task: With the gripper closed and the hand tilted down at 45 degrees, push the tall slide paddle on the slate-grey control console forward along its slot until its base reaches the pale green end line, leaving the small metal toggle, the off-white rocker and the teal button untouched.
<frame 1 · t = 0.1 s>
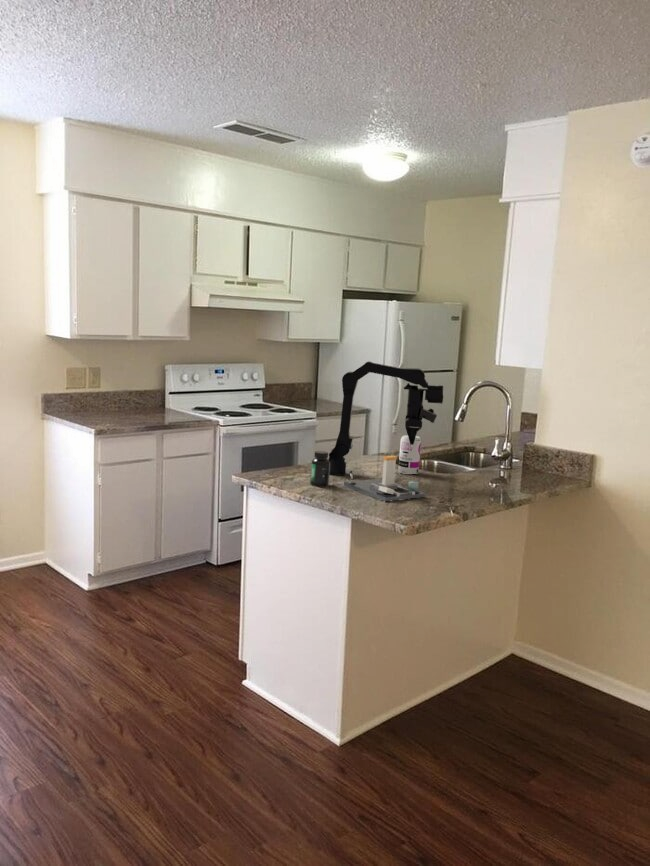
hand: (411, 442, 276), 15 cm above the counter, tool pointing down, fingers open, 9 cm apart
toggle lever: (351, 474, 261), point 5 cm above the counter, hinge at -25.0°
supplement bottle: (319, 485, 262), on the counter
rocker switch: (386, 490, 247), point 3 cm above the counter, hinge at -14.0°
console: (383, 491, 257), on the counter
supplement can: (408, 473, 291), on the counter
push button: (413, 485, 253), point 4 cm above the counter, slide at 0.0 cm
slide paddle: (388, 472, 254), point 7 cm above the counter, slide at 0.0 cm
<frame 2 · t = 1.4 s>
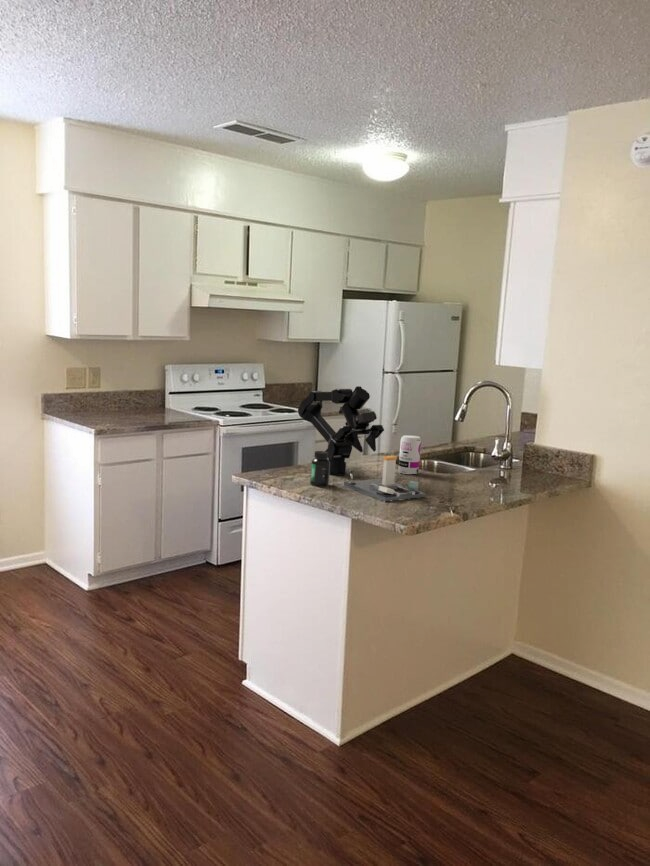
hand: (368, 451, 264), 13 cm above the counter, tool tilted 45°, fingers open, 6 cm apart
nothing on the counter moved.
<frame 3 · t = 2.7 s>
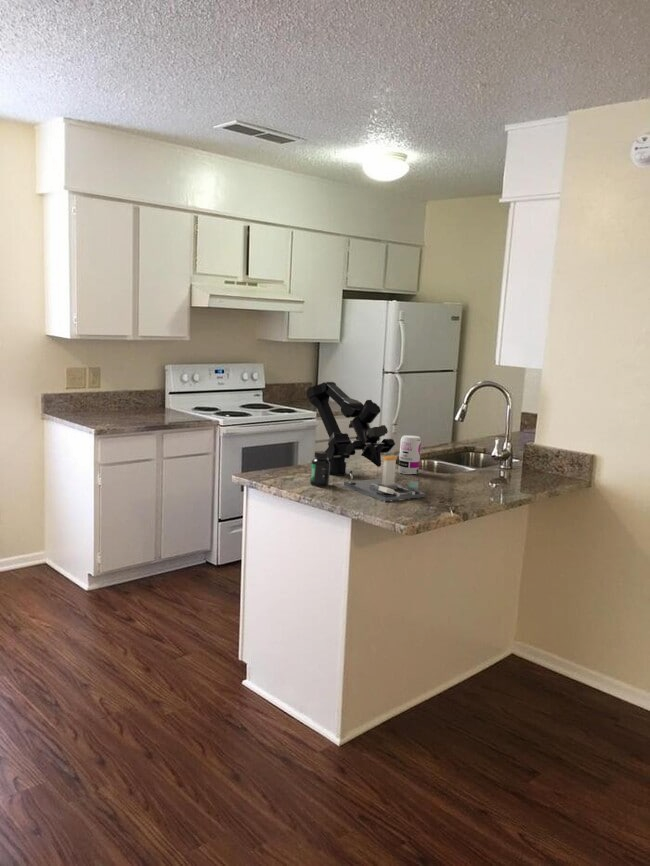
hand: (379, 466, 259), 9 cm above the counter, tool tilted 45°, fingers closed
nothing on the counter moved.
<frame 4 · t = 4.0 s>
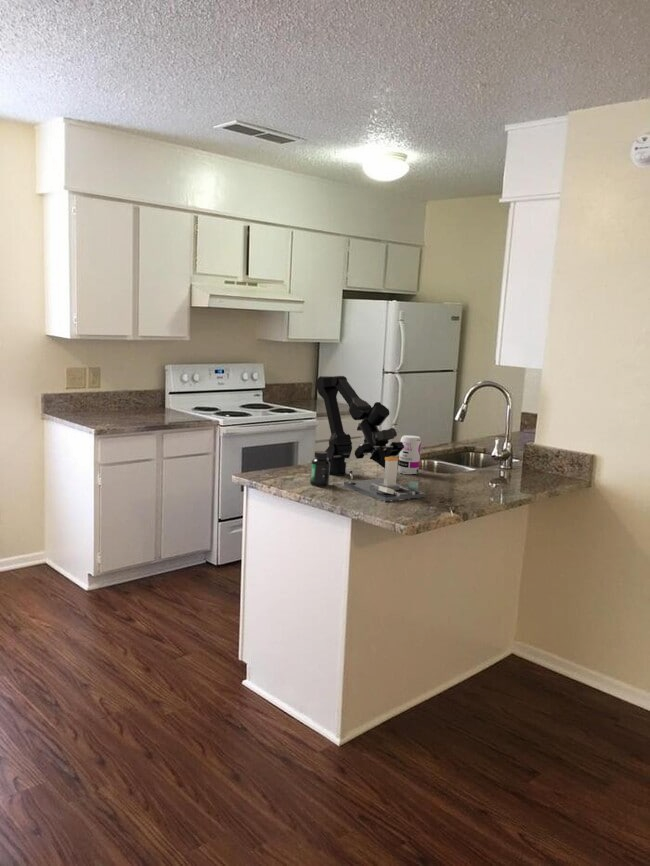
hand: (388, 469, 254), 8 cm above the counter, tool tilted 45°, fingers closed, pressing on slide paddle
slide paddle: (390, 473, 254), point 7 cm above the counter, slide at 1.0 cm, touching gripper
everything else where it was.
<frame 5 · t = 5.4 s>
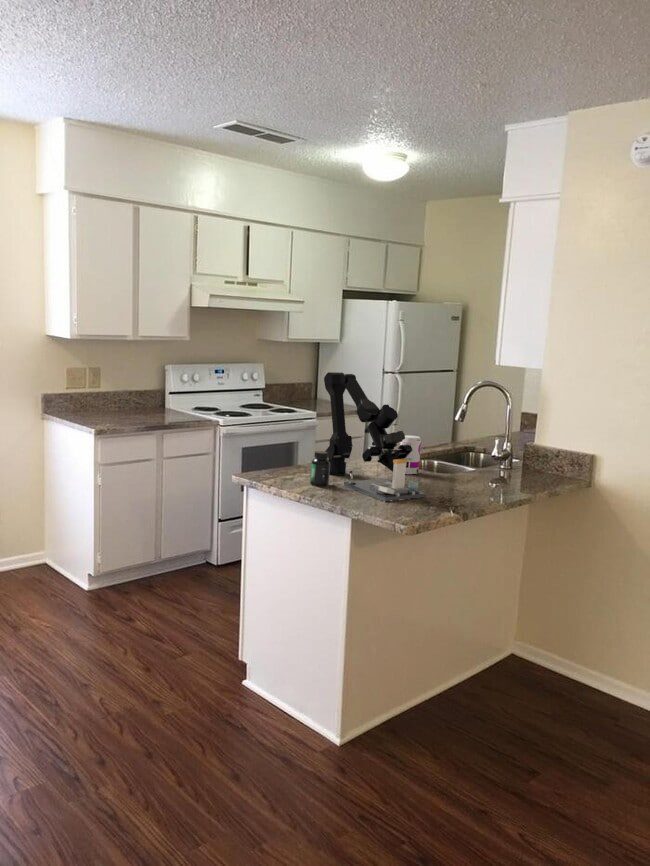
hand: (396, 473, 251), 8 cm above the counter, tool tilted 45°, fingers closed, pressing on slide paddle
slide paddle: (398, 475, 250), point 7 cm above the counter, slide at 5.5 cm, touching gripper
everything else where it was.
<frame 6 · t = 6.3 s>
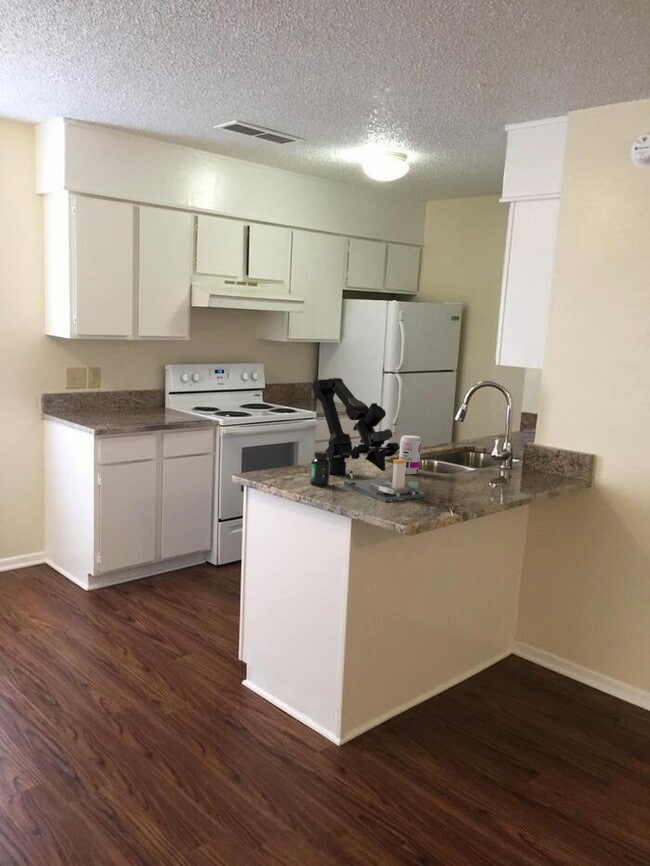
hand: (383, 470, 257), 7 cm above the counter, tool tilted 45°, fingers closed
slide paddle: (398, 475, 250), point 7 cm above the counter, slide at 5.5 cm
everything else where it was.
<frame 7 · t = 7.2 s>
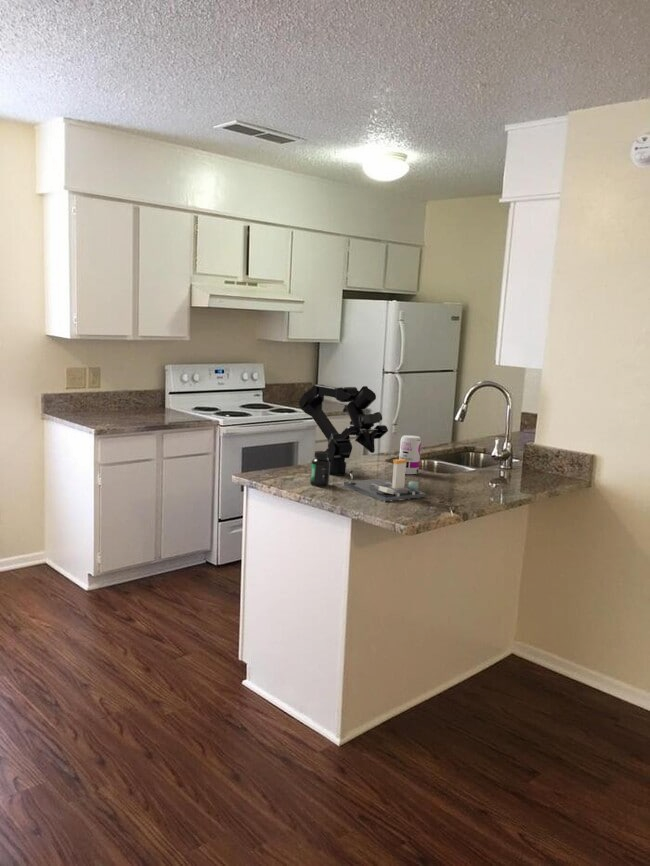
hand: (373, 452, 263), 12 cm above the counter, tool tilted 40°, fingers closed
nothing on the counter moved.
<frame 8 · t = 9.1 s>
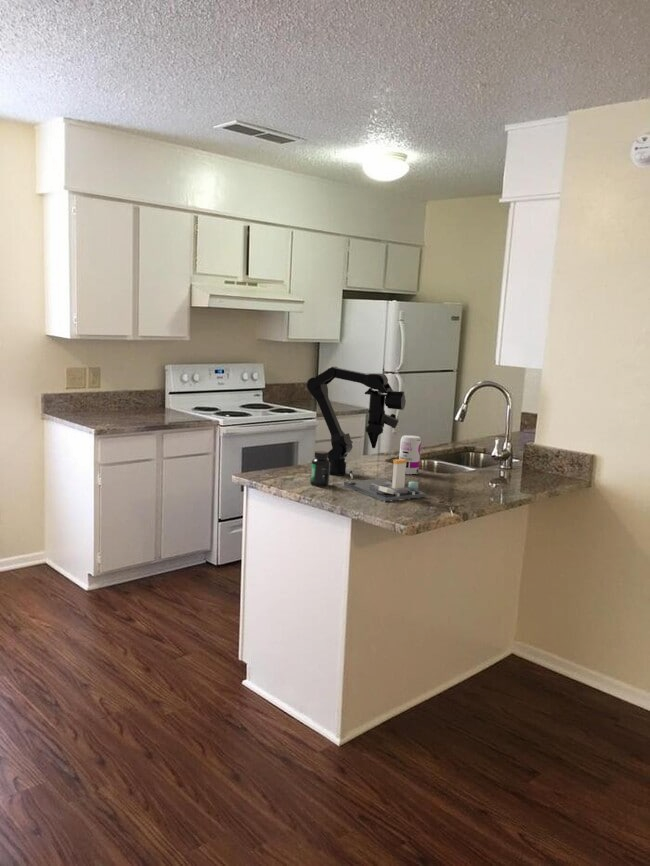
hand: (373, 448, 275), 12 cm above the counter, tool pointing down, fingers closed
nothing on the counter moved.
at the end: slide paddle slide at 5.5 cm; toggle lever at -25° (first picture: -25°); push button slide at 0.0 cm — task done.
